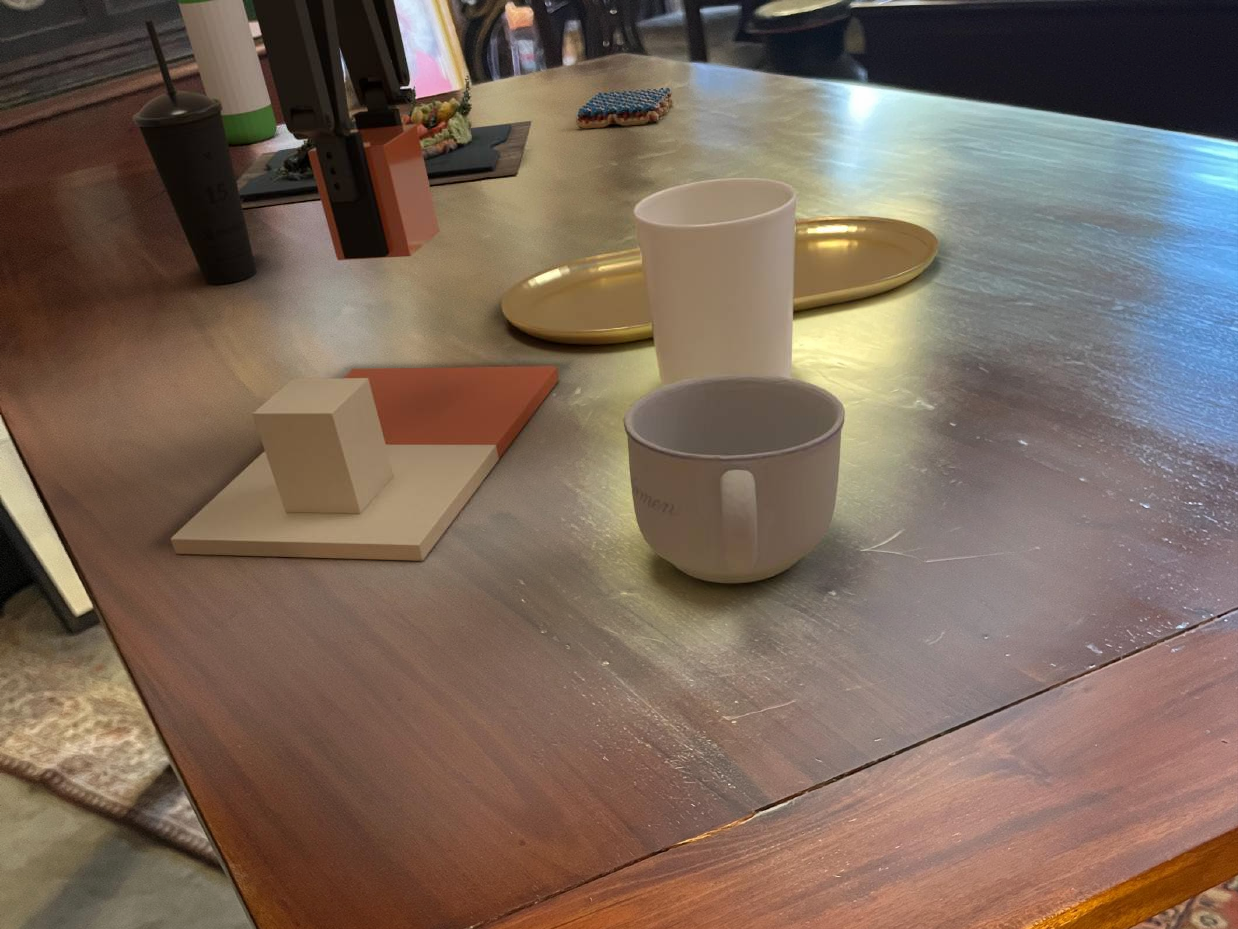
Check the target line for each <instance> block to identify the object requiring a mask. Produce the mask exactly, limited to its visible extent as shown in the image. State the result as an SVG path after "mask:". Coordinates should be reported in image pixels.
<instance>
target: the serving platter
mask: <svg viewBox="0 0 1238 929" xmlns="http://www.w3.org/2000/svg"><path fill="white" fill-rule="evenodd" d="M938 251H939V241H938V239H937V236H935V235H934V233H933V232H931V231H930V230H929V229H927V228H925V227H924V226H920V225H918V224H916V223H912V222H908V221H905V220H901V219H896V218H895V219H894V218H889V217H880V216H867V215H833V216H831V215H830V216H818V217H817V216H815V217H807V218H798V219H796V223H795V259H794V296H793V312H797V311H798V312H799V311H803V310H808V309H813V308H820V307H824V306H830V305H836V304H840V303H847V302H851V301H857V300H862V299H865V298H869V297H873V296H875V295H880V294H882V293H885V292H888V291H891V290H893V289H896V288H898V287H900V286H902V285H905V284H906V283H908V282H909V281H911V280H913V279H915V278H916V277H917V276H919V275H920V274H921V273H923V272H924V271H925V270H926V269H927V268H928V267H929V266H930V265H931V263H932V262H933V261H934V259H935V258H936V256H937V253H938ZM500 308H501V311H502V314H503V316H504V317H505V318H506V319H507V321H509V322H510V324H511V325H512V326H514V327H515V328H517V329H518V330H519V331H521V332H523V333H525V334H527V335H529V336H532V337H534V338H538V339H541V340H544V341H548V342H553V343H560V344H569V345H586V346H587V345H588V346H589V345H590V346H591V345H593V346H594V345H597V346H598V345H612V344H614V345H615V344H622V343H630V342H636V341H642V340H648V339H654V338H653V331H652V325H651V319H650V312H649V306H648V300H647V293H646V287H645V281H644V274H643V268H642V262H641V255H640V249H639V247H636V248H630V249H623V250H620V251H613V252H608V253H601V254H597V255H592V256H587V257H582V258H578V259H573V260H570V261H566V262H563V263H562V262H561V263H560V264H556V265H553V266H551V267H548V268H545V269H543V270H540V271H538V272H535V273H533V274H531V275H528V276H527V277H525V278H523V279H522V280H520V281H518V282H517V283H515V284H514V285H513V286H511V287H510V289H508V290H507V291H506V292H505V294H504V296H503V297H502V299H501V306H500Z"/></svg>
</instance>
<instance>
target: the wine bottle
mask: <svg viewBox="0 0 1238 929" xmlns="http://www.w3.org/2000/svg"><path fill="white" fill-rule="evenodd" d="M177 2H178V7H179V9H180V13H181V16H182V19H183V23H184V26H185V29H186V32H187V36H188V39H189V42H190V46H191V49H192V53H193V56H194V59H195V63H196V65H197V66H196V67H197V70H198V72H199V76H200V79H201V82H202V85H203V88H204V92H205V96H207V97H209V98H211V99H217V100H220V101H221V103H222V106H223V109H222V110H221V115H222V120H223V124H224V129H225V133H226V138H227V142H228V145H232V146H240V145H241V146H242V145H249V144H254V143H259V142H263V141H266V140H268V139H270V138H272V137H274V136H275V134H276V133H277V121H276V118H275V114H274V110H273V106H272V102H271V99H270V95H269V91H268V87H267V84H266V80H265V76H264V73H263V69H262V65H261V62H260V58H259V55H258V51H257V48H256V44H255V41H254V37H253V34H252V29H251V26H250V22H249V19H248V15H247V11H246V8H245V4H244V1H243V0H177Z"/></svg>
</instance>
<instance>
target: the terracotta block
mask: <svg viewBox="0 0 1238 929" xmlns="http://www.w3.org/2000/svg"><path fill="white" fill-rule="evenodd" d="M352 132H361V136H362V140H363V144H364V150H365V154H366V158H367V162H368V167H369V171H370V175H371V179H372V183H373V187H374V192H375V196H376V200H377V204H378V208H379V213H380V217H381V221H382V225H383V229H384V233H385V238H386V242H387V246H388V250H389V254H388V255H387V256H385V257H375V258H374V259H383V258H384V259H385V258H386V259H387V258H404V257H405V258H407V257H411V256H412V255H414V254H415V253H416V252H418V250H419V249H421V248H422V247H423V246H424V245H425V244H426V243H428V242H429V241H430V240H431V239H432V238H433V237H435V236H436V235H437V234H439V232H440V227H439V221H438V217H437V213H436V209H435V208H436V207H435V204H434V200H433V199H434V198H433V195H432V191H431V185H429V181H428V176H427V172H426V167H425V162H424V158H423V153H422V149H421V144H420V140H419V135H418V131H417V126H416V124H413V125H401V126H390V127H378V128H367V129H355V130H351V132H350V133H352ZM308 155H309V158H310V162H311V166H312V169H313V173H314V176H315V180H316V184H317V187H318V191H319V195H320V198H319V199H320V202H321V205H322V209H323V213H324V216H325V219H326V224H327V227H328V230H329V234H330V239H331V241H332V244H333V245H332V246H333V249H334V253H335V256H336V259H337V260H336V261H351V260H368V259H372V258H352V259H345V258H344V254H343V250H342V247H341V243H340V239H339V235H338V231H337V228H336V224H335V220H334V216H333V212H332V208H331V205H330V201H329V197H328V193H327V189H326V186H325V182H324V178H323V174H322V170H321V167H320V163H319V159H318V155H317V151H316V147H315V148H313V149H312V150H310V151H308Z"/></svg>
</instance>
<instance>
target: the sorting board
mask: <svg viewBox="0 0 1238 929" xmlns="http://www.w3.org/2000/svg"><path fill="white" fill-rule="evenodd" d="M343 378H368V379H369V383H370V387H371V391H372V395H373V398H374V402H375V406H376V410H377V414H378V417H379V421H380V425H381V429H382V433H383V436H384V440H385V444H386V448H387V452H388V455H389V459H390V463H391V467H392V471H393V475H394V476H393V477H392V478H391V480H390V481H389V482H388V483H387V484H386V485H385V486H384V488H383V489H382V490H381V491H380V492H379V493H378V495H377V496H376V497H375V498H374V499H373V500H372V501H371V503H370V504H369V505H368V506H367V507H366V508H365V509H364V511H363V512H362V513H361V514H353V513H298V512H285V509H284V506H283V503H282V500H281V497H280V494H279V491H278V488H277V485H276V482H275V479H274V476H273V473H272V470H271V467H270V464H269V461H268V458H267V455H266V452H265V450H264V451H263V452H262V453H260V455H258V456H257V457H256V458H255V459H254V460H253V461H251V463H250V464H249V465H248V466H247V467H246V468H245V469H243V470H242V471H241V472H240V473H239V474H238V475H237V476H236V477H234V479H233V480H231V481H230V482H229V483H228V484H227V485H226V486H225V487H224V488H223V489H222V490H221V491H219V493H218V494H216V495H215V496H214V498H212V499H211V500H209V502H208V503H207V504H206V505H205V506H204V507H202V508H201V510H199V511H198V512H197V513H196V514H195V515H194V516H193V517H192V518H191V519H189V520H188V521H187V523H185V524H184V525H183V526H182V527H181V528H180V529H179V530H178V531H177V532H176V533H175V534H173V535H172V536H171V537H170V539H169V540H170V541H171V545H172V547H173V549H174V552H175V554H177V555H208V556H211V555H213V556H240V557H241V556H243V557H245V556H247V557H280V558H281V557H282V558H314V559H316V558H317V559H345V560H346V559H349V560H352V559H353V560H384V561H385V560H386V561H387V560H388V561H419V562H421V561H422V562H423V561H424V560H425V559H426V557H427V556H428V554H430V552H431V550H432V549H433V548H434V546H435V545H436V544H437V543H438V542H439V540H440V538H441V537H443V534H444V533H445V532H446V530H447V529H448V528H449V527H450V525H451V524H452V523H453V521H454V520H455V518H456V517H457V516H458V515H459V513H460V512H462V510H463V508H464V506H465V505H466V504H467V503H468V501H469V500H470V499H471V498H472V496H473V495H474V493H475V492H476V491H477V489H478V488H479V487H480V486H481V485H482V483H483V482H484V481H485V479H486V478H487V476H488V475H489V473H490V472H491V471H492V469H494V467H495V465H496V464H497V463H498V462H499V461H500V459H501V457H502V456H503V455H504V453H505V452H506V451H507V449H508V448H509V447H510V445H511V444H512V443H513V441H514V440H515V439H516V437H517V436H518V435H519V434H520V432H521V431H522V429H523V428H524V427H525V426H526V425H527V423H528V421H529V420H530V419H531V417H533V415H534V414H535V412H536V411H537V410H538V409H539V407H540V405H541V404H542V403H543V402H544V400H545V399H546V398H547V396H548V395H549V393H550V392H551V391H552V389H554V387H555V386H556V384H557V383H558V382H559V380H560V377H559V371H558V366H557V365H534V366H533V365H532V366H531V365H530V366H529V365H528V366H527V365H525V366H522V365H521V366H471V367H470V366H467V367H465V366H461V367H460V366H459V367H457V366H453V367H397V368H396V367H394V368H393V367H390V368H389V367H388V368H385V367H384V368H353V369H351V370H350V371H349V372H348V373H347V374H346V375H345V376H343Z"/></svg>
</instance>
